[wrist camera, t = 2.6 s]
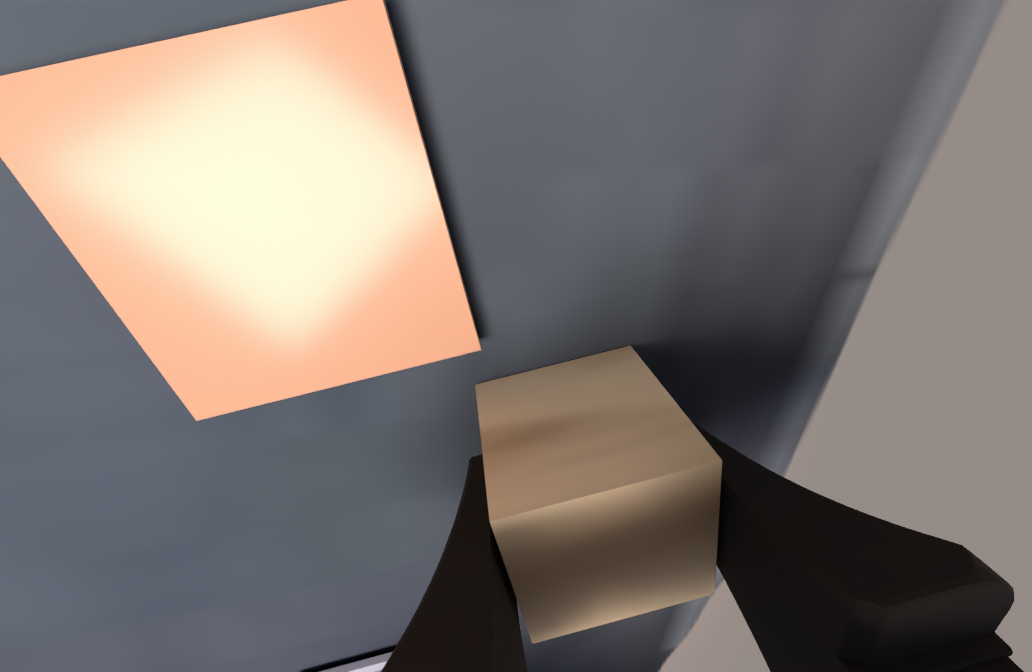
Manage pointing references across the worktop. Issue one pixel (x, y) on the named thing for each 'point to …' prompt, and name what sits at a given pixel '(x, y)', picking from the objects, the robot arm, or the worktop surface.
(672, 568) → the block
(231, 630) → the worktop surface
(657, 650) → the worktop surface
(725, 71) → the worktop surface
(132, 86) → the coaster
